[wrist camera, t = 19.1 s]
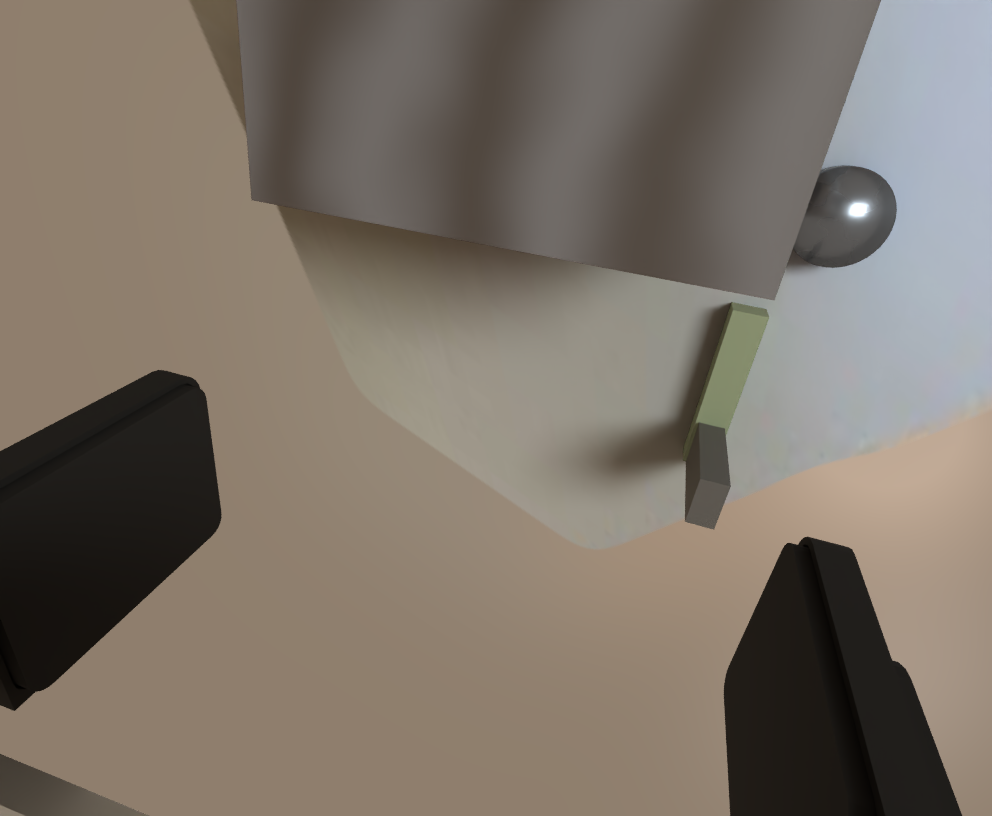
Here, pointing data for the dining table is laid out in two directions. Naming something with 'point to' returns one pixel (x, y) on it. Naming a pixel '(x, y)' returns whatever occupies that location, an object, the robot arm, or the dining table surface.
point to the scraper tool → (719, 414)
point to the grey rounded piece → (846, 217)
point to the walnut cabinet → (557, 123)
